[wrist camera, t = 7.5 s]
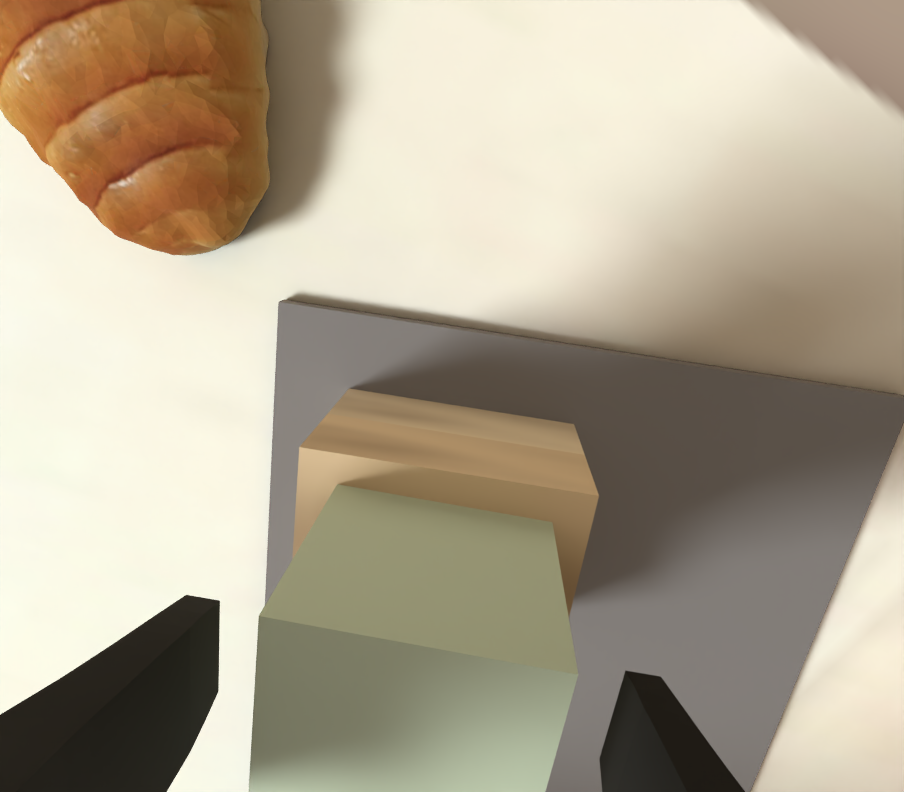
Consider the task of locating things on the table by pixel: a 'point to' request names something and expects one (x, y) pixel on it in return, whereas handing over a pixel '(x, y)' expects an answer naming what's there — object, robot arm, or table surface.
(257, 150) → the pastry
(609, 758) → the robot arm
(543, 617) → the green block
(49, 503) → the table surface
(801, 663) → the mat
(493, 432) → the tower base slab
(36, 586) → the table surface
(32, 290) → the table surface
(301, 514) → the tower top slab
